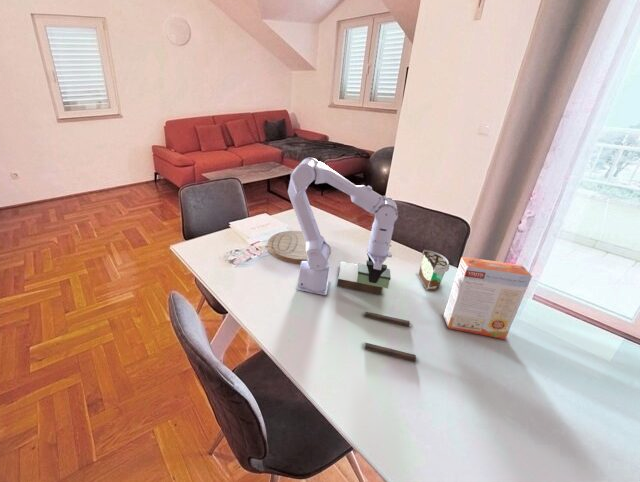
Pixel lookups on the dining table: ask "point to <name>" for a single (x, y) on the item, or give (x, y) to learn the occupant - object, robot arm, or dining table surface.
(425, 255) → the food container
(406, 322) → the bay rails
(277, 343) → the dining table surface
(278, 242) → the trivet
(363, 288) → the white-topped slab
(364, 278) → the box
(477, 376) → the dining table surface
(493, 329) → the cracker box
